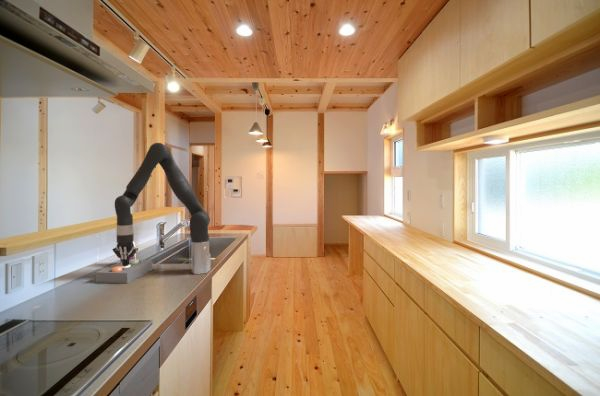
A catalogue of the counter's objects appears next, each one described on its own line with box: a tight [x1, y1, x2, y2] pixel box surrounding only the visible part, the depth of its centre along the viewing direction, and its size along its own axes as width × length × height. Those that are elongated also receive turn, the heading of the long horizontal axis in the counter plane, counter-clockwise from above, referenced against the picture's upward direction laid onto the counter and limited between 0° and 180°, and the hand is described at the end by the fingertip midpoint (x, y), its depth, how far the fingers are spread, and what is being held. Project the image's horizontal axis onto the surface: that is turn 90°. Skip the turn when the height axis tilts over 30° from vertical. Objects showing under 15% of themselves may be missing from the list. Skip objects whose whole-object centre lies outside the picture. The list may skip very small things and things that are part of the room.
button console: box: [94, 259, 154, 284], centre depth 142 cm, size 16×21×5 cm
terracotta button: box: [112, 266, 122, 272], centre depth 136 cm, size 4×4×4 cm
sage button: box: [129, 258, 139, 264], centre depth 149 cm, size 4×4×4 cm
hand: (125, 265), depth 142 cm, fingers closed
